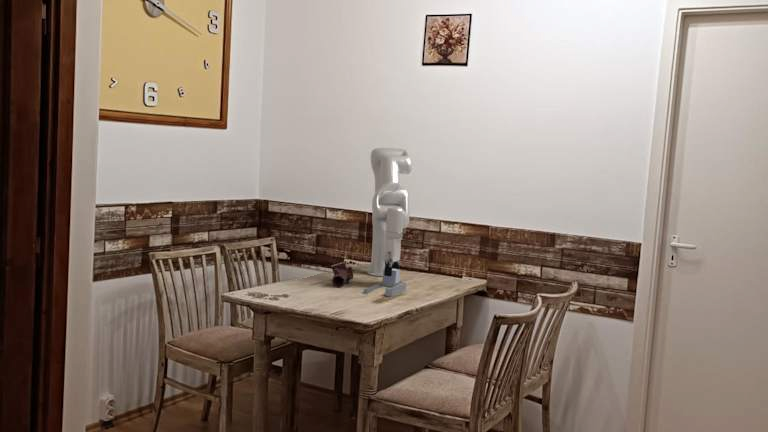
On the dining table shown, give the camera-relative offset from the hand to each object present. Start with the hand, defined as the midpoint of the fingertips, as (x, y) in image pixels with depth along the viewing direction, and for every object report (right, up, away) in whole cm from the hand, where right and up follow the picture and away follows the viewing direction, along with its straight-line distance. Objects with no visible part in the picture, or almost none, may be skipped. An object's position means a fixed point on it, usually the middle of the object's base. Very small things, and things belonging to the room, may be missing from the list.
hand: (391, 274), depth 339 cm
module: (-1, -5, +1) cm, 5 cm away
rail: (-4, -6, -13) cm, 15 cm away
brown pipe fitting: (-22, -4, -3) cm, 23 cm away
